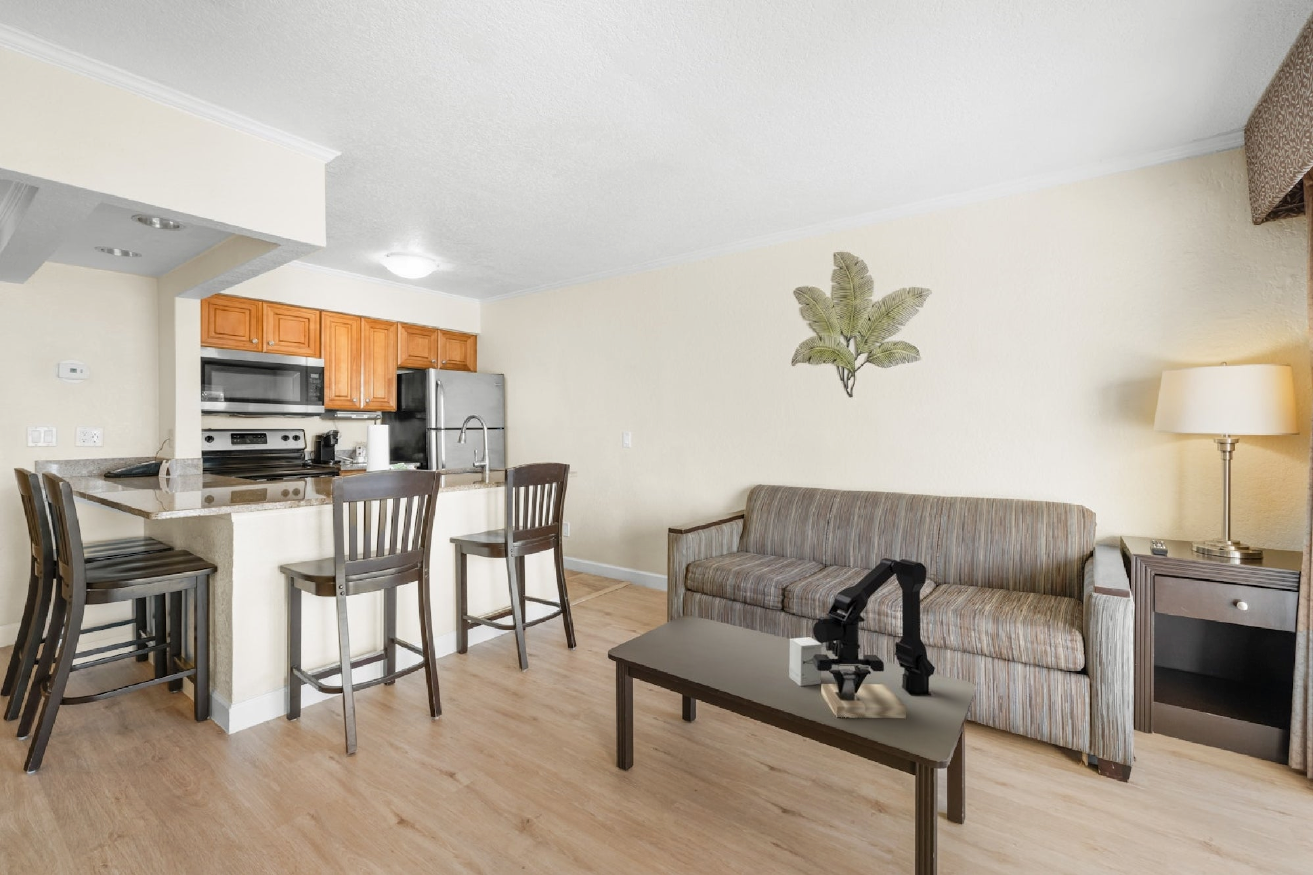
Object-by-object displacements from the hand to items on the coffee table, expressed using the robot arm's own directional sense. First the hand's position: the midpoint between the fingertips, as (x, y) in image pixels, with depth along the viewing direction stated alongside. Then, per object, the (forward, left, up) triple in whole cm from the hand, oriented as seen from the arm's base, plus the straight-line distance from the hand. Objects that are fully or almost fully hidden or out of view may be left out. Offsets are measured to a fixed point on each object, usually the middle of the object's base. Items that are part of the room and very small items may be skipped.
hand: (847, 692), depth 169 cm
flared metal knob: (0, 0, -1) cm, 1 cm away
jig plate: (-4, -1, -4) cm, 6 cm away
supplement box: (+8, -18, -4) cm, 20 cm away
